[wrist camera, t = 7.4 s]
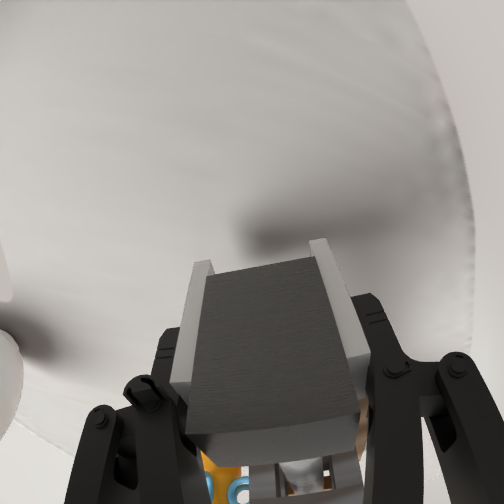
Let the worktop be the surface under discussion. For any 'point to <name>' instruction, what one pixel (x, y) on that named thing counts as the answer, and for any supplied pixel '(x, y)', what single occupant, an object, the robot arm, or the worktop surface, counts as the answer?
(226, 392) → the shaft
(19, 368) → the sauce bottle
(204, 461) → the cylinder
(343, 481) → the jig
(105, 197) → the worktop surface
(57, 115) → the worktop surface
